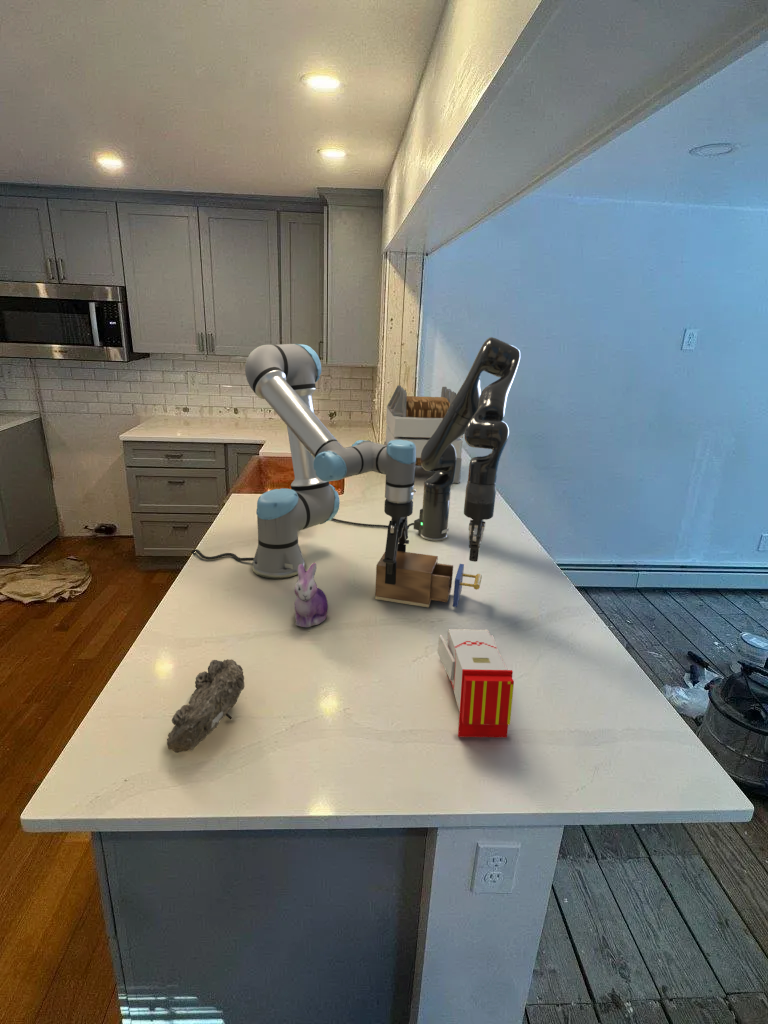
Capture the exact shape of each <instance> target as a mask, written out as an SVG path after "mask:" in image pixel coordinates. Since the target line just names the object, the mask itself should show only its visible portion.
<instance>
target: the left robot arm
mask: <svg viewBox="0 0 768 1024" xmlns="http://www.w3.org/2000/svg"><path fill="white" fill-rule="evenodd" d="M244 366H245V367H244V368H245V369H244V371H245V373H244V374H245V378H246V381H247V384H248V385H249V387H250V389H251V390H252V391H253V393H254V394H255V395H256V396H257V398H259V399H261V400H264V401H266V402H267V404H268V405H269V406H270V407H271V408H272V410H273V411H274V412H275V413H276V414H277V416H278V417H279V418H280V419H281V420H282V422H283V423H284V424H285V425H286V429H287V435H288V436H287V437H288V442H289V443H288V444H289V449H290V455H291V463H292V468H293V476H294V479H293V481H292V482H291V484H290V488H285V487H284V488H283V487H282V488H273V489H270V490H267V491H265V492H263V493H262V494H261V495H260V496H259V497H258V498H257V501H256V511H255V513H256V519H257V521H256V523H257V548H256V550H255V554H254V556H253V557H239V556H237V554H236V553H232V552H224V553H220V554H216V555H214V556H206V555H205V554H203V553H202V552H201V550H199V549H197V548H195V549H193V550H191V552H190V554H195V553H196V554H197V555H198V556H199V557H201V559H203V560H208V561H213V560H217V559H220V558H224V557H232V558H234V559H235V560H236V561H239V562H252V571H253V573H254V574H255V575H257V576H260V577H262V578H266V579H274V580H275V579H276V580H279V579H287V578H293V577H294V576H298V566H299V564H303V566H304V567H305V558H304V556H303V553H302V550H301V547H300V544H299V532H300V531H302V530H306V529H309V528H312V527H315V526H318V525H323V524H325V523H327V522H330V521H332V520H331V519H333V518H334V519H335V517H336V515H337V514H338V513H339V510H340V502H341V501H340V496H339V492H338V490H336V488H335V486H333V485H332V484H330V482H335V481H341V480H343V479H346V478H349V477H353V476H358V475H362V474H366V473H369V472H374V473H378V474H382V475H385V484H384V485H385V486H384V498H385V499H384V509H383V510H384V513H385V515H386V516H389V517H390V518H391V520H389V521H388V525H387V526H388V527H386V528H387V534H386V542H385V549H384V553H385V557H384V559H383V562H384V563H386V571H385V583H386V584H392V585H395V581H396V555H397V551H402V552H407V545H409V543H410V540H409V529H408V525H409V524H408V517H411V516H412V515H413V511H414V501H413V499H414V493H417V489H416V488H414V487H415V474H416V466H415V464H416V446H415V444H414V443H413V442H411V441H407V440H392V441H389V442H388V444H387V446H386V445H384V444H382V443H378V442H374V441H372V440H365V439H359V440H356V441H355V442H354V443H353V444H352V445H351V446H347V447H344V446H343V444H341V443H340V442H339V440H338V439H337V438H336V437H335V435H333V434H332V432H331V431H330V430H329V429H328V428H327V426H326V425H325V424H324V423H323V422H322V421H321V419H319V417H318V416H317V415H316V414H315V410H314V402H313V394H314V392H316V390H317V386H316V383H317V382H318V381H319V380H320V378H321V375H322V362H321V360H320V356H319V355H318V353H317V352H316V351H315V350H314V349H313V348H312V347H311V346H310V345H307V344H302V343H284V344H283V343H282V344H262V345H259V346H257V347H256V348H254V349H253V350H252V351H250V353H249V355H248V356H247V359H246V361H245V364H244ZM195 551H196V552H195ZM194 552H195V553H194Z"/></svg>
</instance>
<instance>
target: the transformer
mask: <svg viewBox="0 0 768 1024" xmlns="http://www.w3.org/2000/svg"><path fill="white" fill-rule="evenodd" d="M440 393H441V394H440V396H415V395H414V396H413V395H412V396H411V395H407V394H408V393H407V390H406V389H404V388H403V387H402V385H399V384H398V385H397V386H396V388H395V390H394V392H393V394H392V395H391V398H390V400H389V402H388V404H387V405H386V413H385V414H386V415H385V423H386V428H385V438H384V442H383V445H386V446H387V444H388V442H389V441H392V440H407V441H411V442H413V443H414V444H415V446H416V464H415V467H417V466H418V467H422V466H421V462H420V457H421V452H422V450H423V448H424V446H425V445H426V443H427V442H428V441H429V439H430V438H431V436H432V435H433V434H434V432H435V431H436V429H437V428H438V426H439V424H440V423H441V421H442V419H443V418H444V416H445V414H446V412H447V410H448V408H449V407H450V405H451V403H452V401H453V399H454V398H455V396H456V395H457V392H455V391H453V390H452V389H451V388H447V386H442V387H441V392H440ZM463 438H464V434H463V435H462V436H461V437H459V438H458V439H456V440H455V441H454V442H452V443H451V444H452V445H453V446H454V448H455V450H456V467H455V474H454V481H453V484H455V483H456V484H459V483H461V472H462V461H463V460H462V453H463V442H464V441H463V440H462V439H463Z"/></svg>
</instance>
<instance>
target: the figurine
mask: <svg viewBox="0 0 768 1024" xmlns="http://www.w3.org/2000/svg"><path fill="white" fill-rule="evenodd" d="M316 573H317V563H316V562H313V563H311V565H310V566H309V567H308V569H307V570H306V567H305V565H304V566H303V564H299V566H298V574H297V578H298V579H297V581H296V583H295V586H294V589H293V590H294V594H295V596H296V598H295V601H294V612H295V615H294V619H295V626H297V627H302V628H311V627H312V626H313V627H314V626H318V625H320V624H322V623H323V622H324V621H325V620H326V619H327V616H328V610H329V604H328V598H327V595H326V594H325V592H324V591H323V590H322V589H321V588H319V587H318V586H317V583H316V581H315V575H316Z"/></svg>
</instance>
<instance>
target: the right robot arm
mask: <svg viewBox="0 0 768 1024" xmlns="http://www.w3.org/2000/svg"><path fill="white" fill-rule="evenodd" d="M520 360H521V351H520V349H519V348H518V347H516V346H515V345H512V344H510V343H508V342H505V341H503V340H501V339H499V338H497V337H493V336H490V337H488V338H486V340H485V341H484V342H483V343H482V345H481V347H480V349H479V350H478V352H477V354H476V357H475V359H474V361H473V363H472V365H471V367H470V368H469V370H468V374H467V375H466V377H465V378H464V379H465V380H464V381H463V383H462V385H461V386H460V388H459V389H458V392H456V396H455V398H454V399H453V401H452V403H451V405H450V407H449V408H448V410H447V412H446V414H445V416H444V418H443V419H442V421H441V423H440V424H439V426H438V428H437V429H436V431H435V432H434V434H433V435H432V436H431V438H430V439H429V441H428V442H427V443H426V445H425V446H424V448H423V450H422V452H421V457H420V462H421V466H420V467H422V469H423V470H424V471H426V472H434V473H433V474H432V475H431V476H429V477H428V478H426V479H425V480H424V482H423V493H422V496H423V497H422V506H421V508H420V509H419V516H418V518H416V519H415V520H413V522H411V523H409V524H407V525H408V530H409V529H410V527H411V526H413V530H416V531H417V535H418V536H420V538H421V539H424V540H426V541H432V542H440V541H444V540H446V539H447V538H448V532H449V529H450V528H448V525H449V517H450V516H449V514H450V504H451V494H452V493H451V491H452V486H453V484H454V483H453V481H454V474H455V467H456V450H455V448H454V446H453V445H452V444H451V443H452V442H454V441H455V440H456V439H458V438H459V437H461V436H462V435H463V437H464V440H465V443H466V445H468V446H469V447H471V448H475V449H486V450H491V451H490V453H489V454H486V455H479V456H474V457H472V458H470V460H469V464H468V475H467V482H466V487H465V495H464V507H463V515H464V516H465V517H466V518H470V519H469V524H468V531H469V532H468V540H469V543H468V548H469V557H468V560H469V562H474V563H475V562H478V560H479V555H480V554H479V553H480V548H481V545H482V544H481V542H482V541H483V537H484V532H485V529H486V521H488V520H491V519H492V518H493V517H494V512H495V503H496V494H497V477H498V468H499V463H500V460H501V457H502V454H503V452H504V449H505V447H506V445H507V443H508V441H509V437H510V428H509V426H508V424H507V423H506V422H505V421H503V420H504V418H505V413H506V407H507V400H508V396H509V392H510V390H511V387H512V384H513V382H514V379H515V377H516V374H517V371H518V367H519V364H520ZM483 372H486V373H488V374H490V375H492V376H494V377H496V378H498V379H497V380H495V381H493V382H491V383H489V384H488V385H486V386H485V387H484V388H483V389H482V391H481V375H482V373H483ZM330 521H335V522H339V523H342V524H349V525H354V526H361V527H362V526H364V527H376V528H387V527H388V525H387V524H372V523H361V522H353V521H347V520H342V519H338V518H335V517H334V518H333V519H331V520H330Z"/></svg>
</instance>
